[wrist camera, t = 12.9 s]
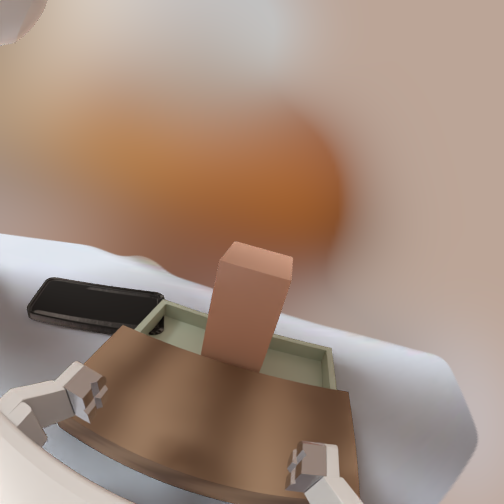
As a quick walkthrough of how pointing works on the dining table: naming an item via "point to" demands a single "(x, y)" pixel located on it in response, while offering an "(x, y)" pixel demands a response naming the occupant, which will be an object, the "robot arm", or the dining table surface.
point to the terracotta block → (246, 305)
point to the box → (277, 357)
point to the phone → (93, 306)
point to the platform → (210, 421)
